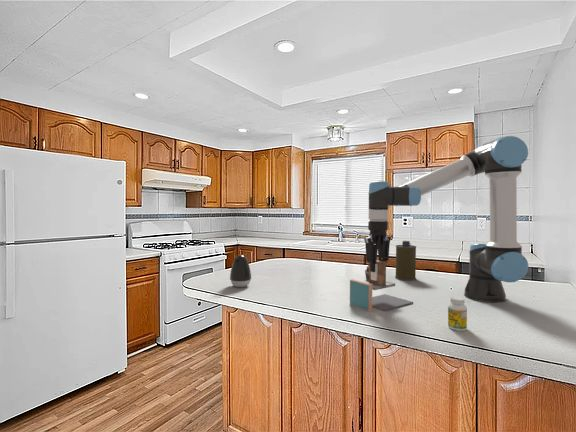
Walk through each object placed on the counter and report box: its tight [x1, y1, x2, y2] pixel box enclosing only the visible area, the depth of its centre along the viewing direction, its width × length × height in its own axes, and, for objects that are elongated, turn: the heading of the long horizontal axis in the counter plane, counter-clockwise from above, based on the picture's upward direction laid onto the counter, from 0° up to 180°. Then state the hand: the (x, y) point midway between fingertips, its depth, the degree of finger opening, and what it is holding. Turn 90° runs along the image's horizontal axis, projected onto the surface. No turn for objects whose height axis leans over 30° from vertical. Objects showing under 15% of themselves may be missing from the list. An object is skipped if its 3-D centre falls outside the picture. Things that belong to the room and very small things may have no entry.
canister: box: [394, 240, 417, 281], centre depth 177 cm, size 11×10×20 cm
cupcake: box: [364, 264, 369, 282], centre depth 172 cm, size 10×10×10 cm
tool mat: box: [372, 293, 414, 312], centre depth 133 cm, size 14×17×1 cm
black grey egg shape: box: [229, 254, 252, 288], centre depth 159 cm, size 10×10×15 cm
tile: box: [349, 278, 373, 312], centre depth 126 cm, size 10×2×10 cm, turn 35°
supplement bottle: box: [447, 296, 468, 332], centre depth 106 cm, size 5×5×10 cm
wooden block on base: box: [364, 259, 396, 291], centre depth 132 cm, size 12×8×10 cm, turn 124°
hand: (377, 279), depth 132 cm, fingers closed on wooden block on base, 3 cm apart
